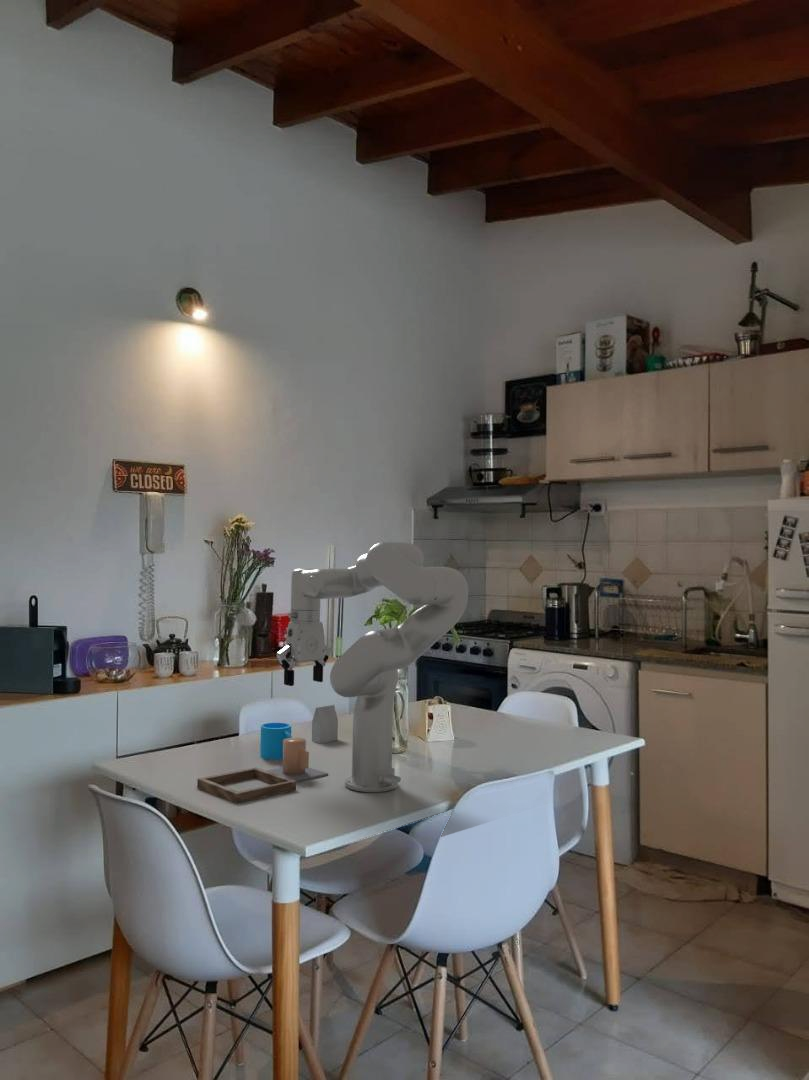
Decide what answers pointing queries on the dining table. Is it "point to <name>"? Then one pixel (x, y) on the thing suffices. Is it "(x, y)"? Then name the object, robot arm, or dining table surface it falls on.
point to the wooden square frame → (278, 786)
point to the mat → (308, 774)
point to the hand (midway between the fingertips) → (303, 683)
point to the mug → (273, 739)
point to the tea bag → (325, 724)
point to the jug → (295, 756)
